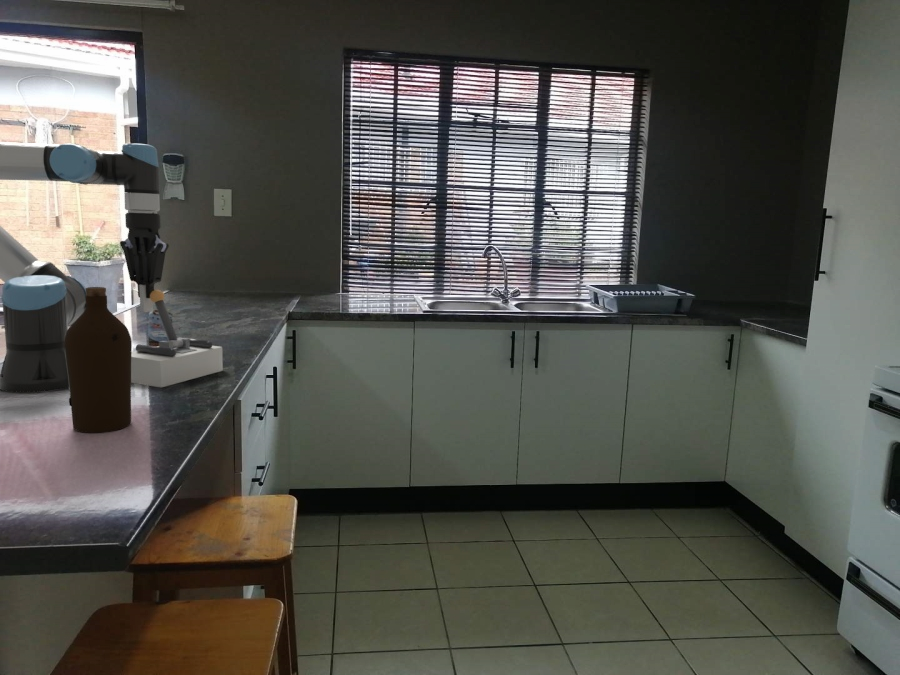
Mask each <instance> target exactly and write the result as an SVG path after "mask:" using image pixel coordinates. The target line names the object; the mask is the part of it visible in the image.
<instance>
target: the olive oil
mask: <svg viewBox="0 0 900 675" xmlns="http://www.w3.org/2000/svg"><path fill="white" fill-rule="evenodd" d="M106 293H107V288H106V287H104V286H88V287H86V296H85V300H86V310H85V311H84V312H83V314H82V315H81V316H80V317H79V318H78V319H77V320H76V321H75V322H74V323H73V324H72V325H71V326H68V330H67V333H66V336H65V340H64V350H65V358H66V366H67V374H68V383H69V387H68V391H69V398H68V403H69V406H70V407H71V408H70V409H71V418H72V427H73V429H74V430H75V431H77V432H79V431H80V432H81V433H86V434H87V433H89V434H96V433H107V432H108V433H109V432H114V431H119V430H122V429H124V428H126V427H129V425H131V423H132V383H131V352H132V351H133V350H132V346H133V344H132V343H133V342H132V337H131V334H130V332H129V329H128V327H127V326H126V325H125V324H124V322H122V321H121V320H120V319H119V318H117V316H115V314H113V313H112V312H111V311H110V309H109V308H108V295H107V294H106Z"/></svg>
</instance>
